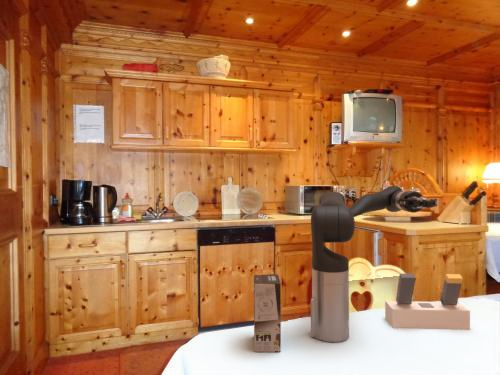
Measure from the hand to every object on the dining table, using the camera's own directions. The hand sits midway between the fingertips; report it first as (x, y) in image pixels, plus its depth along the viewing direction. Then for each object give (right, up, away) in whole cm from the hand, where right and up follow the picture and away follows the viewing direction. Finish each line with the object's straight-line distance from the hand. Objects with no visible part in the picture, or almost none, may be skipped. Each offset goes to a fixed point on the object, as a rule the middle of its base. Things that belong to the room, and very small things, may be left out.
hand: (429, 204), depth 117 cm
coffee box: (-52, -33, -26) cm, 67 cm away
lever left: (-14, -27, -13) cm, 33 cm away
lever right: (-2, -27, -14) cm, 30 cm away
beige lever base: (-8, -32, -14) cm, 36 cm away
